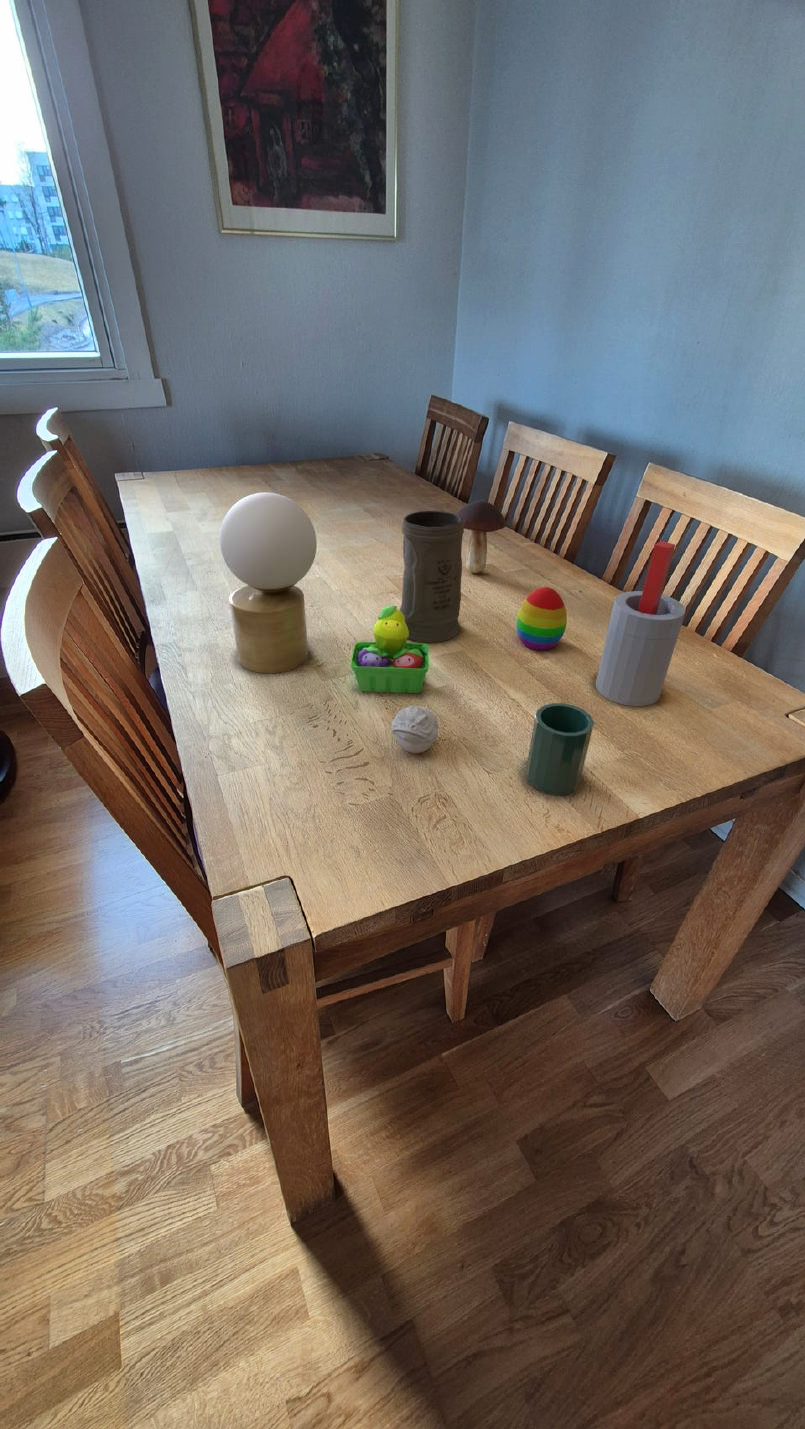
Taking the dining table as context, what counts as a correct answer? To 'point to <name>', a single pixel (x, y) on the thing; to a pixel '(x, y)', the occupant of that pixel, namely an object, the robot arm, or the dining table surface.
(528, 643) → the decorative egg
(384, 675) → the fruit basket
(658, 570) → the paint brush
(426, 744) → the grey wrinkled ball
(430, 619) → the dark grey hollow cylinder
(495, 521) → the decorative mushroom
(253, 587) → the lamp
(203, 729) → the dining table surface
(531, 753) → the pen pot
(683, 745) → the dining table surface
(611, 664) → the vase
